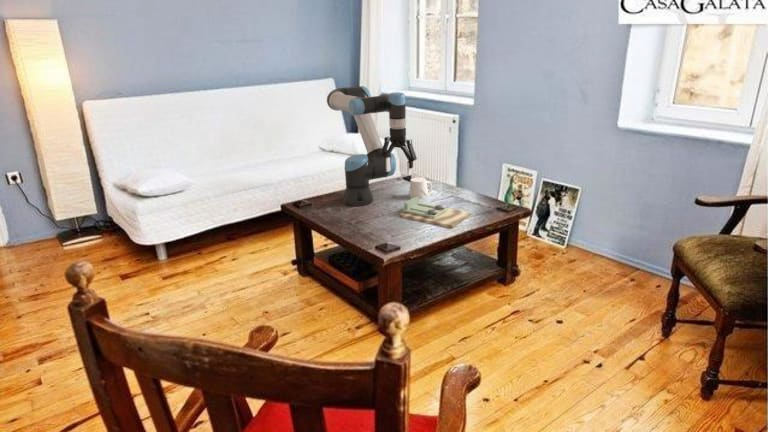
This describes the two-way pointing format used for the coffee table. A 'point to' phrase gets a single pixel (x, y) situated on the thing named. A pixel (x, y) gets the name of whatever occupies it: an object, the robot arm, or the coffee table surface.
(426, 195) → the mug
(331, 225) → the coffee table surface
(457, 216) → the board
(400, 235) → the coffee table surface
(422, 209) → the panel
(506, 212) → the coffee table surface
